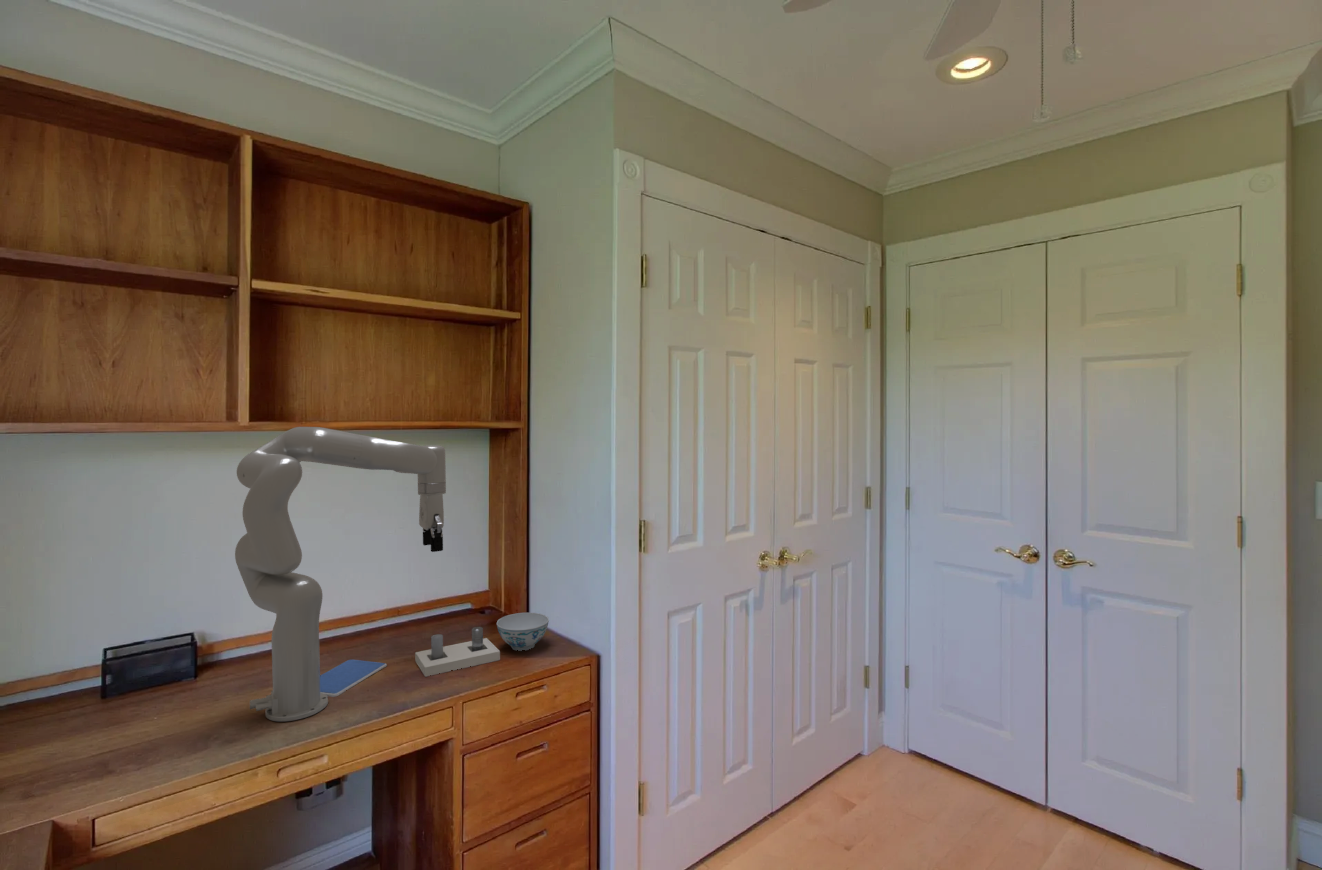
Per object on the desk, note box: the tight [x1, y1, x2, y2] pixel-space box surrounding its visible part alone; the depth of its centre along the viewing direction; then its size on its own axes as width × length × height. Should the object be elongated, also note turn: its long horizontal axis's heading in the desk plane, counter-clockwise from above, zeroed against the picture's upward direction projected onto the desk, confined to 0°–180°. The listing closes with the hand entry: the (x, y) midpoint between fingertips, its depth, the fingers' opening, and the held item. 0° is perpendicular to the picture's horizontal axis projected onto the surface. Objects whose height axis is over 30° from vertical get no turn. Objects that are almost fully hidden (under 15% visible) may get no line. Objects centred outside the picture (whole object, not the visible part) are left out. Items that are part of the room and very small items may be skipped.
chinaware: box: [496, 612, 550, 652], centre depth 183 cm, size 15×15×8 cm
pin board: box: [414, 633, 501, 678], centre depth 173 cm, size 20×12×8 cm, turn 123°
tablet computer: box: [320, 659, 388, 698], centre depth 162 cm, size 19×13×1 cm, turn 166°
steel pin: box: [471, 626, 484, 652], centre depth 176 cm, size 3×3×8 cm
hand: (432, 547), depth 178 cm, fingers open, 9 cm apart
